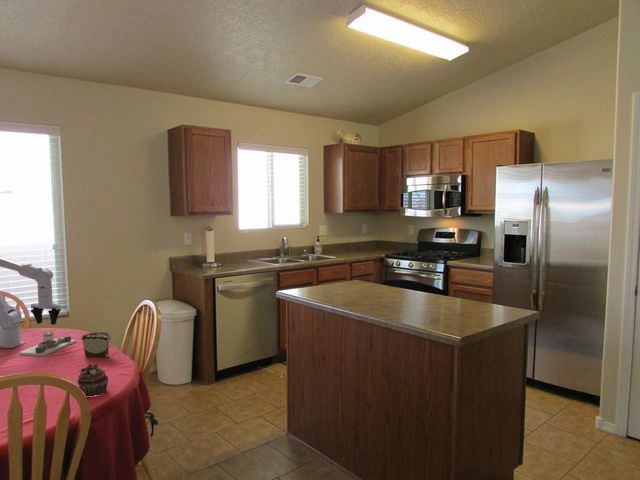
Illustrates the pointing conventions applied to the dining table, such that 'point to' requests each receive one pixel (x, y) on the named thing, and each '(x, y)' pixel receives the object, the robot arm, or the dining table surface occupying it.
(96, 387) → the cupcake
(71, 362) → the dining table surface
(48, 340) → the coupler
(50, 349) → the shaft board
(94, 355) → the food container
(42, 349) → the shaft
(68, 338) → the shaft
